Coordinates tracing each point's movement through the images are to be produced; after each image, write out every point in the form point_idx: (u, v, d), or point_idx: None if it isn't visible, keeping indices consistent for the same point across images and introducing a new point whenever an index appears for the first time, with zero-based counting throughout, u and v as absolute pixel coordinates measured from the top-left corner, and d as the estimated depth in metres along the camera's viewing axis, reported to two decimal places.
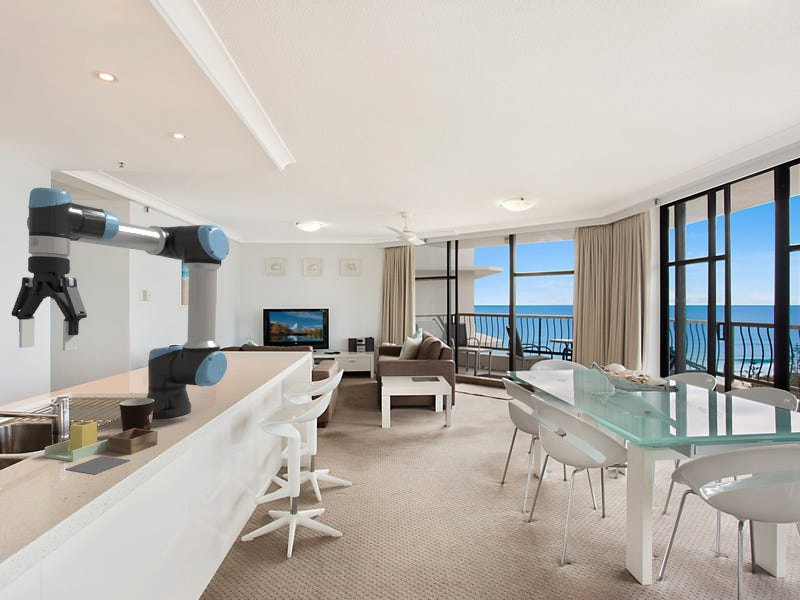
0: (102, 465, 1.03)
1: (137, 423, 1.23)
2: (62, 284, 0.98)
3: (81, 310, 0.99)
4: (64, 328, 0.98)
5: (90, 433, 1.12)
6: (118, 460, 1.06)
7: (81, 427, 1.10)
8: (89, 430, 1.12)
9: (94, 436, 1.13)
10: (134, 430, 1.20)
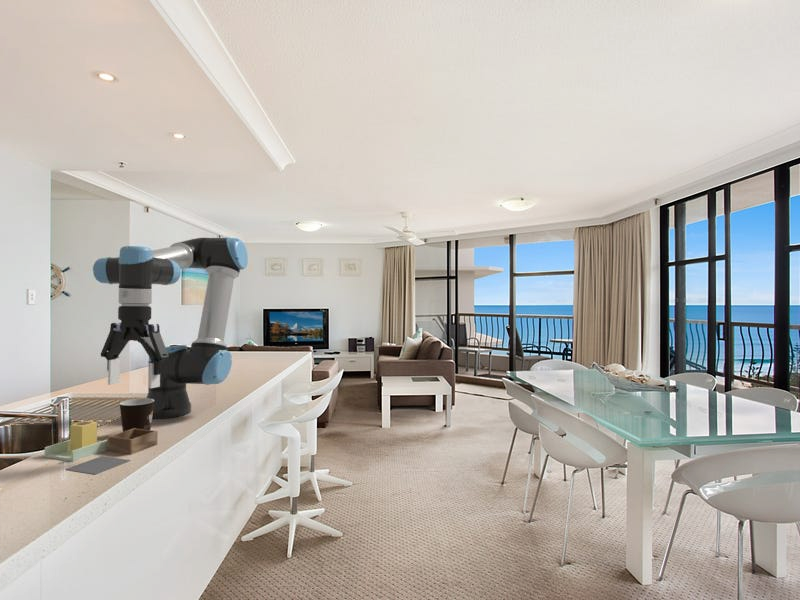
0: (102, 465, 1.03)
1: (137, 423, 1.23)
2: (148, 330, 1.13)
3: (164, 353, 1.13)
4: (150, 369, 1.12)
5: (90, 433, 1.12)
6: (118, 460, 1.06)
7: (81, 427, 1.10)
8: (89, 430, 1.12)
9: (94, 436, 1.13)
10: (134, 430, 1.20)
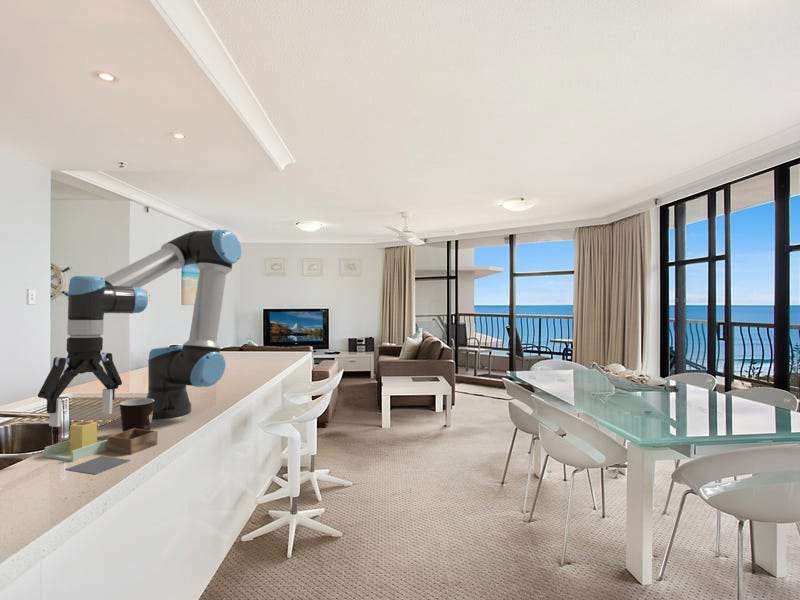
0: (102, 465, 1.03)
1: (137, 423, 1.23)
2: None
3: (44, 390, 1.03)
4: None
5: (90, 433, 1.12)
6: (118, 460, 1.06)
7: (81, 427, 1.10)
8: (89, 430, 1.12)
9: (94, 436, 1.13)
10: (134, 430, 1.20)
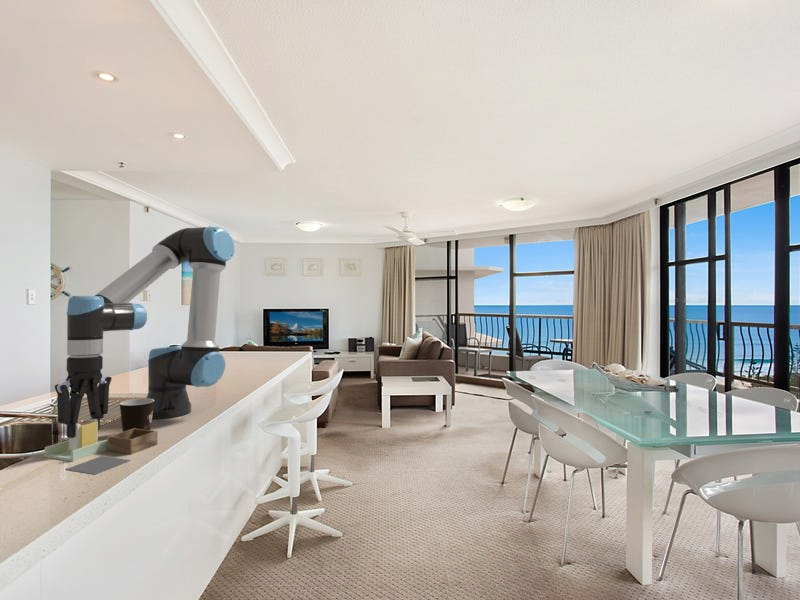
0: (102, 465, 1.03)
1: (137, 423, 1.23)
2: None
3: (62, 418, 1.07)
4: None
5: (90, 433, 1.12)
6: (118, 460, 1.06)
7: (81, 427, 1.10)
8: (89, 430, 1.12)
9: (94, 436, 1.13)
10: (134, 430, 1.20)
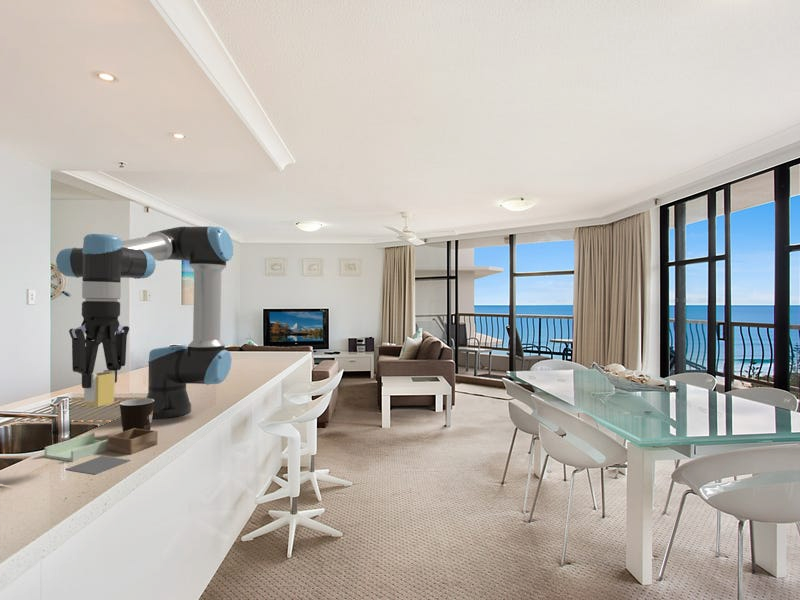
0: (102, 465, 1.03)
1: (137, 423, 1.23)
2: None
3: (77, 365, 0.98)
4: None
5: (106, 385, 1.03)
6: (118, 460, 1.06)
7: (97, 377, 1.01)
8: (106, 381, 1.03)
9: (111, 388, 1.04)
10: (134, 430, 1.20)
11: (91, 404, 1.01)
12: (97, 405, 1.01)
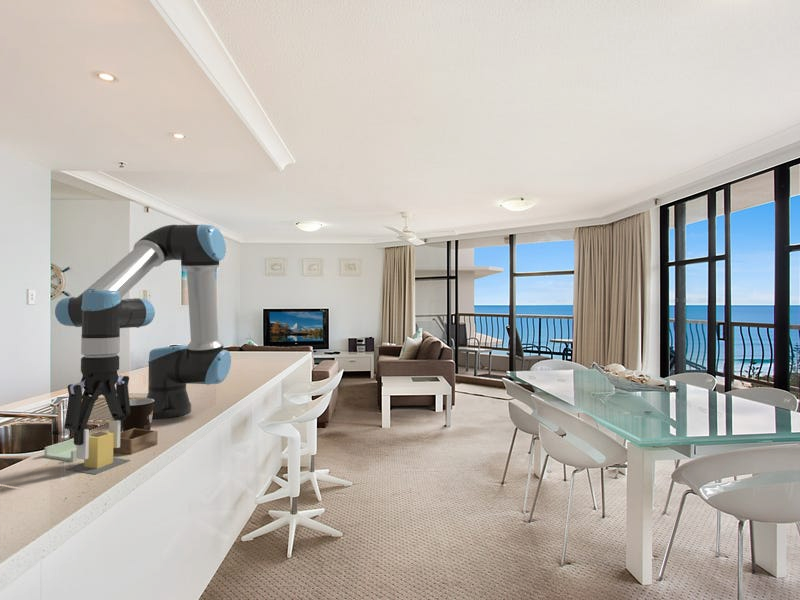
0: None
1: (137, 423, 1.23)
2: None
3: (70, 422, 0.96)
4: None
5: (106, 446, 1.03)
6: (118, 460, 1.06)
7: (97, 439, 1.01)
8: (105, 442, 1.03)
9: (110, 448, 1.04)
10: (134, 430, 1.20)
11: (91, 466, 1.01)
12: (96, 467, 1.01)
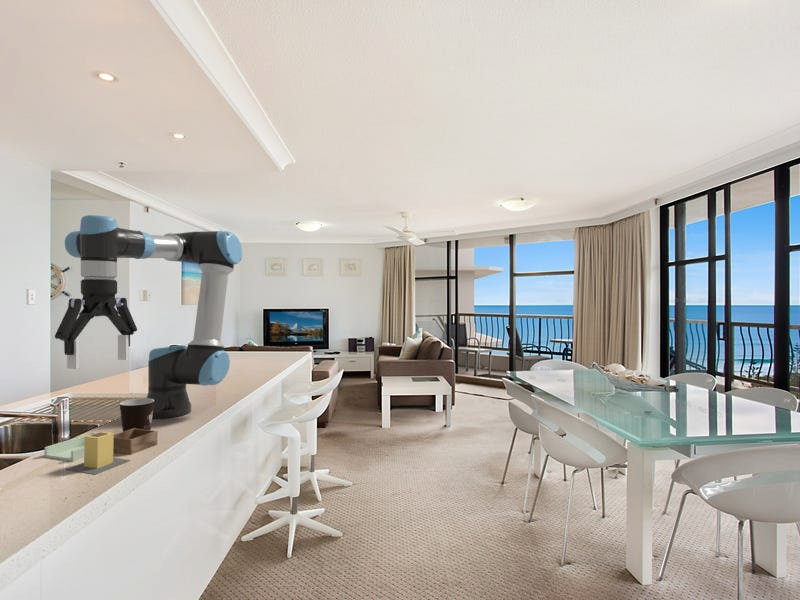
0: None
1: (137, 423, 1.23)
2: None
3: (62, 331, 1.00)
4: None
5: (106, 446, 1.03)
6: (118, 460, 1.06)
7: (97, 439, 1.01)
8: (105, 442, 1.03)
9: (110, 448, 1.04)
10: (134, 430, 1.20)
11: (91, 466, 1.01)
12: (96, 467, 1.01)
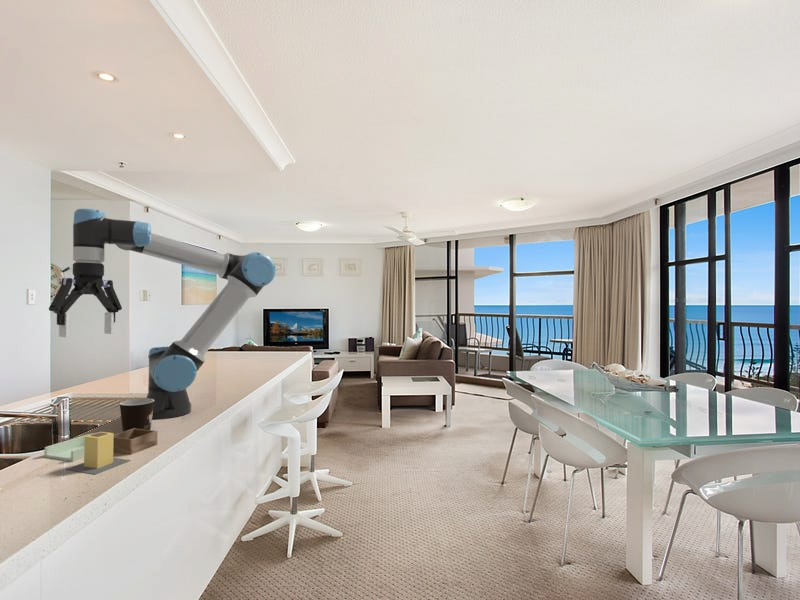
0: None
1: (137, 423, 1.23)
2: None
3: (54, 304, 1.19)
4: None
5: (106, 446, 1.03)
6: (118, 460, 1.06)
7: (97, 439, 1.01)
8: (105, 442, 1.03)
9: (110, 448, 1.04)
10: (134, 430, 1.20)
11: (91, 466, 1.01)
12: (96, 467, 1.01)
